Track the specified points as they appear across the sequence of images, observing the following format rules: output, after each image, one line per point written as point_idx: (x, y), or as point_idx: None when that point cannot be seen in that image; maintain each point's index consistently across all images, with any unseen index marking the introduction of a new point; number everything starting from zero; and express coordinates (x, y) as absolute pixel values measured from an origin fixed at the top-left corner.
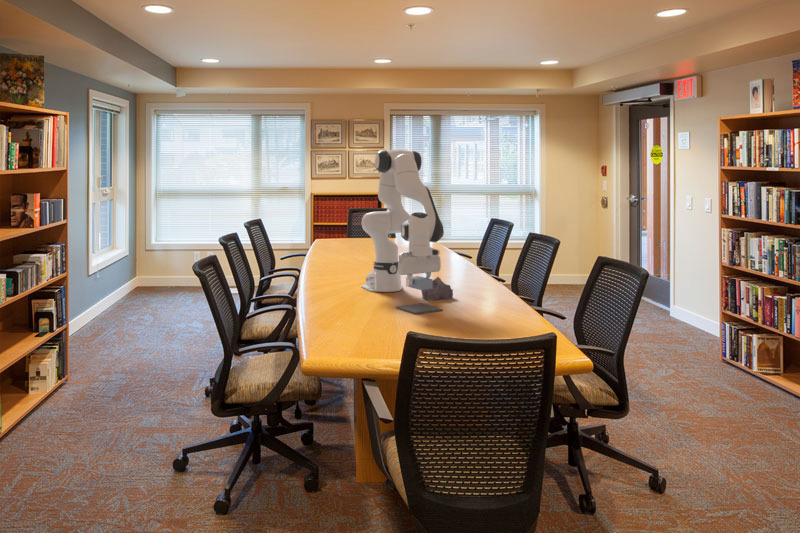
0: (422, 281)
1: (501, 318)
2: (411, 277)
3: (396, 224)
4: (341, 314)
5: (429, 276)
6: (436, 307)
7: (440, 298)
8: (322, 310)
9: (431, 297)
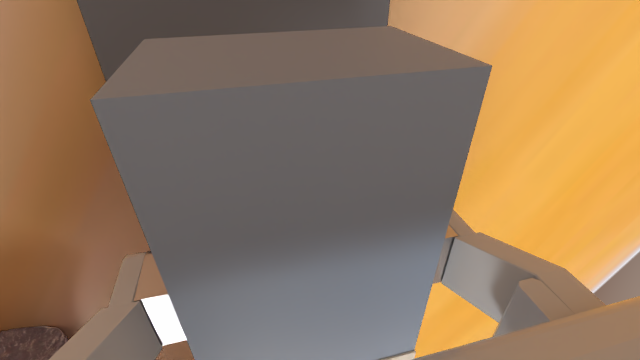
0: (434, 61)
1: None
2: (527, 267)
3: None
4: (623, 169)
5: (77, 354)
6: (104, 52)
7: None
8: (594, 251)
9: (27, 343)
